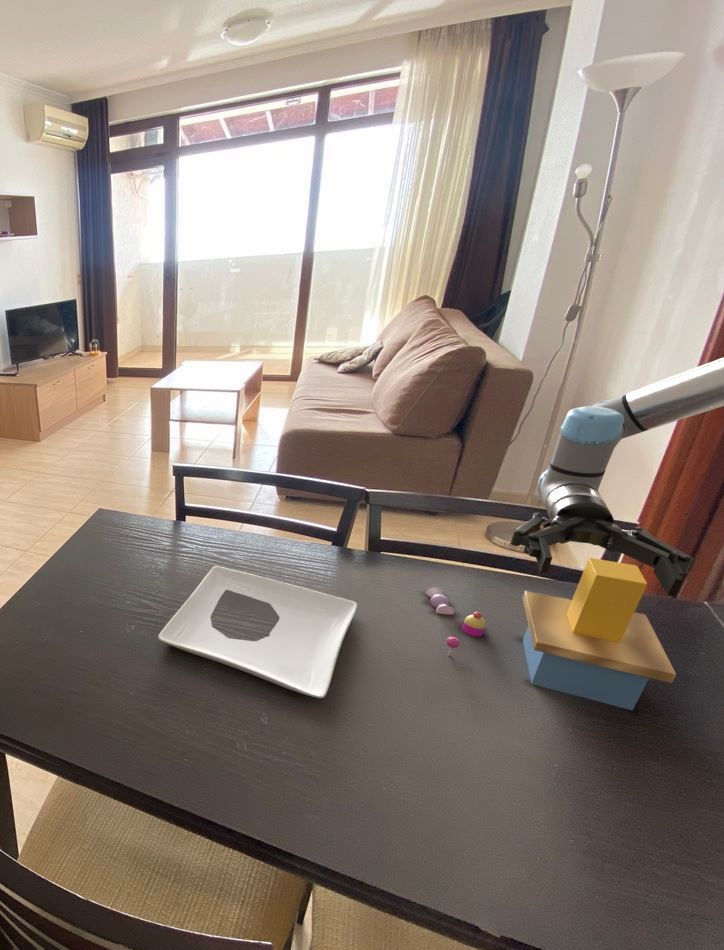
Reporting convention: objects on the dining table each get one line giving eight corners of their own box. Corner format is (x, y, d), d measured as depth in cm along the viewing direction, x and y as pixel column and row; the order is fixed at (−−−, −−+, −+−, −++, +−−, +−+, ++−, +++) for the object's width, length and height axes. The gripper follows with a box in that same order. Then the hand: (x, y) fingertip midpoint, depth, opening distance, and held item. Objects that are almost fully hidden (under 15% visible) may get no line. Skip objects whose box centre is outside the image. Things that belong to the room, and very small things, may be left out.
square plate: (355, 617, 99) (359, 599, 97) (321, 717, 79) (324, 697, 78) (213, 577, 114) (214, 561, 112) (155, 652, 95) (155, 635, 93)
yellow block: (611, 622, 79) (637, 565, 75) (619, 643, 75) (647, 583, 71) (566, 613, 82) (588, 557, 77) (572, 632, 78) (596, 574, 74)
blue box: (611, 666, 84) (630, 625, 80) (630, 715, 76) (652, 672, 72) (521, 644, 89) (535, 605, 86) (529, 688, 81) (545, 647, 78)
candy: (410, 597, 103) (416, 570, 100) (458, 601, 101) (466, 574, 98) (443, 662, 87) (452, 632, 85) (501, 669, 85) (512, 638, 82)
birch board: (641, 622, 81) (645, 614, 80) (672, 683, 70) (676, 674, 70) (522, 598, 88) (525, 590, 87) (533, 650, 77) (536, 642, 77)
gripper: (671, 547, 88) (724, 621, 72) (483, 520, 101) (492, 577, 85) (691, 507, 85) (750, 574, 69) (493, 483, 98) (505, 536, 82)
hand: (608, 576), depth 77 cm, fingers open, 13 cm apart
